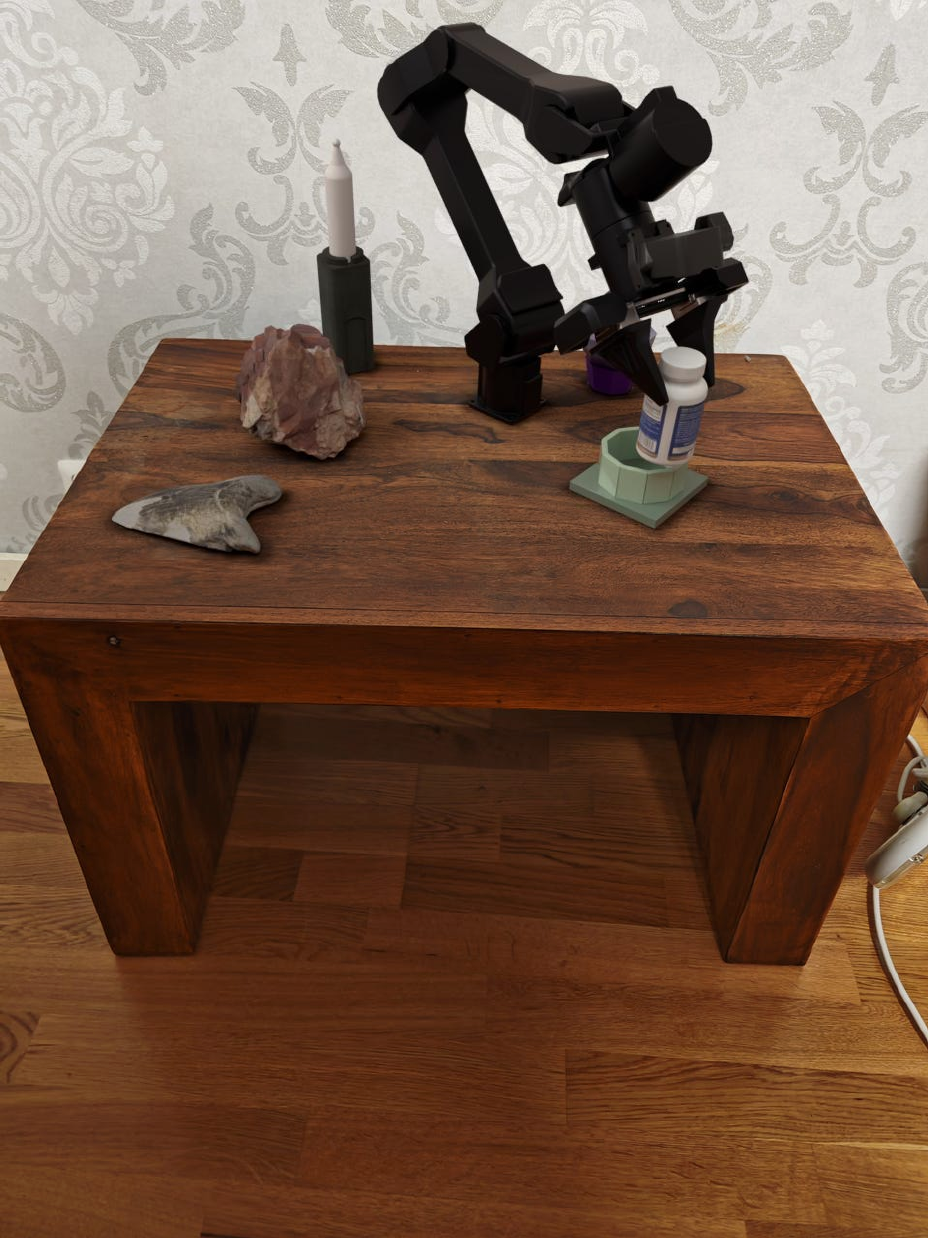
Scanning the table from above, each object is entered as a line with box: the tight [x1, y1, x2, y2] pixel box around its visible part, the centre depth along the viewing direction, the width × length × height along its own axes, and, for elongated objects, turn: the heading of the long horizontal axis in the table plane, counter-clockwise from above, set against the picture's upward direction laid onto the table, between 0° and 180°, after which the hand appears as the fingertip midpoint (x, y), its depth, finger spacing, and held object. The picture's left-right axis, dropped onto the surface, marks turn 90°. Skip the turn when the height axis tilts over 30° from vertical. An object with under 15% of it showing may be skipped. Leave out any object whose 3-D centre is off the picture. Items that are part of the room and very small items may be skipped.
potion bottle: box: [582, 290, 658, 398], centre depth 109 cm, size 9×9×12 cm
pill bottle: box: [636, 346, 708, 466], centre depth 87 cm, size 5×5×10 cm
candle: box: [316, 137, 376, 376], centre depth 107 cm, size 5×5×25 cm
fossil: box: [111, 474, 283, 554], centre depth 90 cm, size 11×5×15 cm
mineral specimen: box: [235, 323, 367, 461], centre depth 100 cm, size 12×13×15 cm
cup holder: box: [568, 425, 709, 530], centre depth 96 cm, size 10×10×4 cm
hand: (687, 396), depth 86 cm, fingers closed on pill bottle, 5 cm apart
